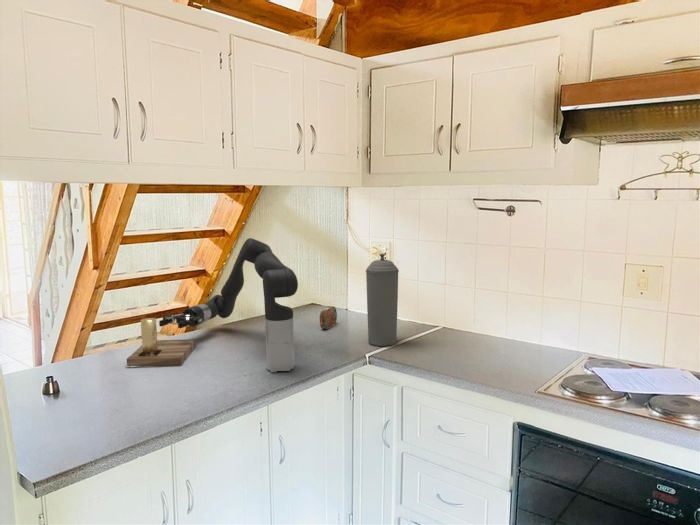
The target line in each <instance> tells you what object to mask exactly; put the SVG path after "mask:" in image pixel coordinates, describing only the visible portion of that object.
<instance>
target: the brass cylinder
mask: <svg viewBox="0 0 700 525" xmlns="http://www.w3.org/2000/svg"><path fill="white" fill-rule="evenodd" d="M140 329H141V330H140V331H141V332H140V333H141V346H142V349H143V356H157V355H158V343H157V340H158V330H157V318H155V317H147V318H142V319H140Z"/></svg>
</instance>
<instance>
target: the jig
mask: <svg viewBox="0 0 700 525" xmlns="http://www.w3.org/2000/svg"><path fill="white" fill-rule="evenodd" d="M157 343H158V355H157V356H143V349H142V345H140V346H139V347H138V348H137V349H136V350H135V351H134V352H133V353H132V354H130V355H129V356H128V357H127V358H126V367H127V366H160V367H180V366H179V365H182V366H183V364H184V363H185V362H184V361H187V359H188V358H189V356H190V355H191V353H192V352H193V351H194V350H195V348H196V345H197V344H196V338H194V339H193V338H190V339H188V338H187V339H186V338H185V339H162V340H161V339H159V340H158V339H157Z"/></svg>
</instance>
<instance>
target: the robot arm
mask: <svg viewBox="0 0 700 525" xmlns="http://www.w3.org/2000/svg"><path fill="white" fill-rule="evenodd" d="M245 261H247V262H249V263H252V264H253V265H254V270H255V272H256V273H257V275H258V276H259V277H260V278H261V279H262V288H263V299H264V301H263V303H264V321H265V322H264V323H265V348H266V349H265V353H266V354H265V355H266V359H265V360H266V370H267V369H268V371H269V370H270V373H278V372H277V371H289V372H290V371H292V370H293V369H295V336H294V335H295V334H294V333H295V332H294V310H293V309H292V308H291V307H290V306H286V305H282V304H279V303H278V302H276V299H278V298H279V299H280V298H289V297H293V296H294V295H295V294H296V293H297V291H298V288H299V283H298V278H297V275H296V273H295V272H294V271H293V270H292V269H291V268H290V267H288V266H286V265H285V264H284V263H283V262H282V261H281V260H280V259H279V258H278V256H276V255H275V254H274V253H273V250H272V249H271V246H269V245H268V244H267V243H264V242H262V241H259V240H257V239H255V238H251V237H249V238H247V239H246V240H245V241H244V243H243V244H242V246H241V248H240V250H239V253H238V255H237V257H236V259H235V262H234V264H233V267H232V269H231V272H230V274H229V276H228V278H227V280H226V281H225V283H224V284H223V287H222V288H221V290H220V294H215V295H214V296H212V297H211V298H210V299H209V300H208V301H206V302H204V303H201V304H196V305H193V306H190V307H187V308H185V309H184V310H183V311H182V313H179V314H175V313H172V314H168V315H165V316H162V319H161V320H159V321H158V324H159V327H160V328H161V327H164V326H167V325H174V326H175V325H176V326H177V328H178V329H183V328H186V327H192V328H193V327H195V326H199V325H200V324H203V323H205V322H207V321H209V320H212V319H214V318H216V317H217V316H218V317H219V318H221V319H226V318H229V317H230V316H231V315H232V313H233V312H234V308H235V306H236V301H237V297H238V295H239V294H240V292H241V291H242V289H243V288H244V285H245V284H244V283H245V277H244V263H245ZM291 369H292V370H291Z"/></svg>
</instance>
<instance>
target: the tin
mask: <svg viewBox="0 0 700 525" xmlns="http://www.w3.org/2000/svg"><path fill="white" fill-rule="evenodd" d="M336 308H337V307H335V306H327V307H326V308H324V309H322V310H321V311H320V314H319V325H320V326H319V327H320V328H321V329H322V330H329V329H330V328H329V327H331V326H332V325H333V324H335V325H336V323H337V319H338V314H337V309H336ZM332 327H333V326H332ZM332 327H331V328H332ZM328 328H329V329H328Z"/></svg>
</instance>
